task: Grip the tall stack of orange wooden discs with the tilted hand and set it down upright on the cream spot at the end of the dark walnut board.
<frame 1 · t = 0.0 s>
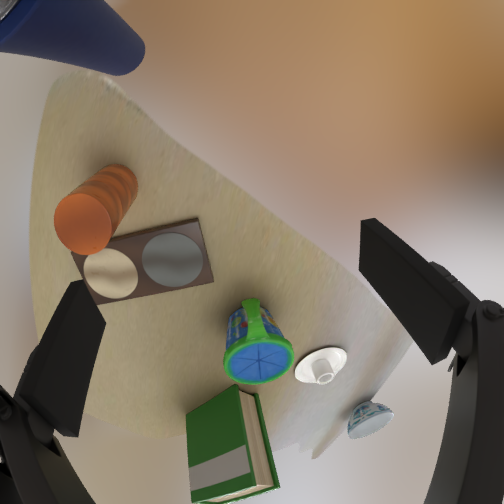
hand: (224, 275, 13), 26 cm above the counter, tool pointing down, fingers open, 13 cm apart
snack cup: (249, 319, 50), on the counter
board: (141, 263, 41), on the counter
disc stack: (115, 187, 35), on the counter
candle holder: (320, 363, 59), on the counter
hardback book: (220, 405, 62), on the counter
chinaware: (362, 406, 76), on the counter
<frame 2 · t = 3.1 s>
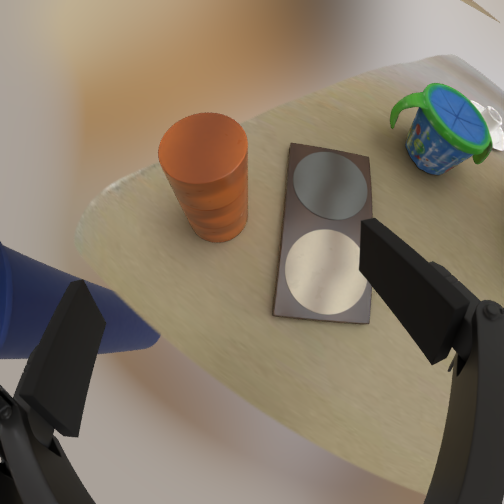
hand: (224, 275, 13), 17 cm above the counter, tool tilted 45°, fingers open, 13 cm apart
snack cup: (424, 155, 35), on the counter
board: (327, 228, 31), on the counter
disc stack: (218, 214, 32), on the counter
candle holder: (483, 126, 38), on the counter
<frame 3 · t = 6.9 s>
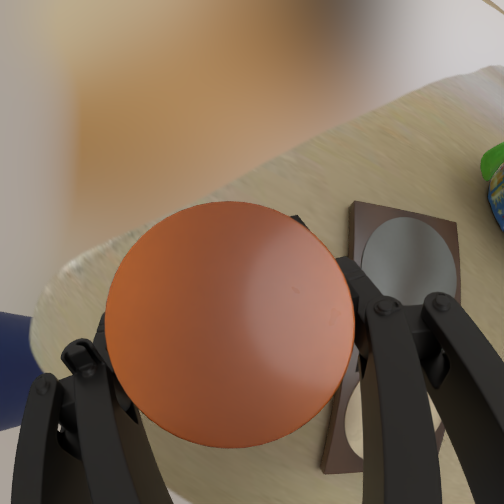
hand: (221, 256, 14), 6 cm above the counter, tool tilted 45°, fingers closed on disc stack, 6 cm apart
board: (402, 342, 19), on the counter
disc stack: (240, 329, 19), on the counter, touching gripper
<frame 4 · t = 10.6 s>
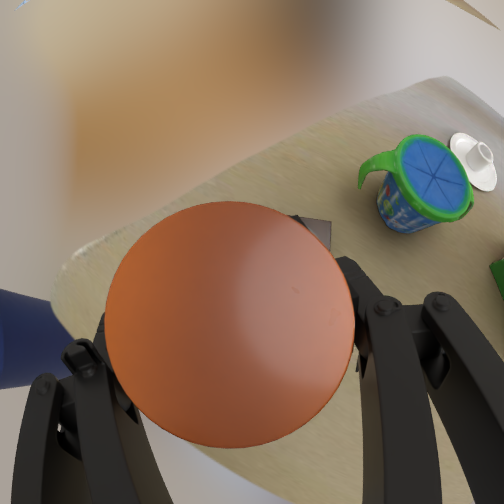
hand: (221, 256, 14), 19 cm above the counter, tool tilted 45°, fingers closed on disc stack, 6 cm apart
snack cup: (398, 209, 36), on the counter
board: (279, 302, 32), on the counter
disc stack: (240, 329, 19), point 13 cm above the counter, touching gripper
candle holder: (472, 163, 39), on the counter
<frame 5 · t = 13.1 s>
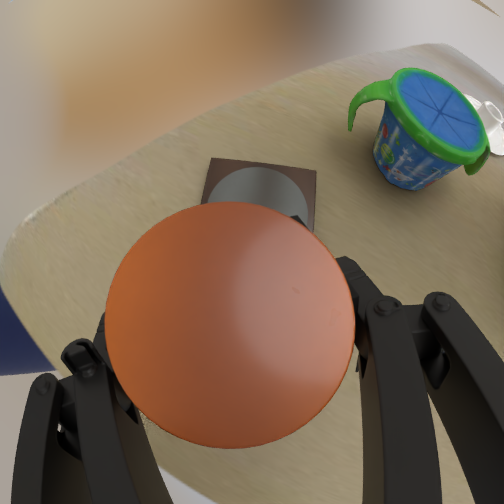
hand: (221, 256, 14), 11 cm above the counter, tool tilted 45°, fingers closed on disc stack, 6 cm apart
snack cup: (399, 164, 28), on the counter
board: (249, 270, 25), on the counter
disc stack: (240, 329, 19), point 5 cm above the counter, touching gripper
candle holder: (480, 125, 31), on the counter
when the fingers open (7 cm above the counter, at t = 14.4 s): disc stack stays where it is, resting on board.
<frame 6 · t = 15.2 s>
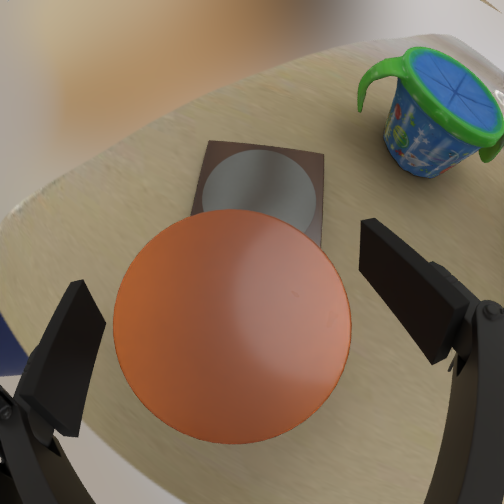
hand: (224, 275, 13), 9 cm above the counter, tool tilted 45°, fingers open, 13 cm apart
snack cup: (411, 150, 26), on the counter
board: (250, 263, 22), on the counter
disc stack: (241, 330, 19), point 1 cm above the counter, touching board
candle holder: (489, 116, 29), on the counter
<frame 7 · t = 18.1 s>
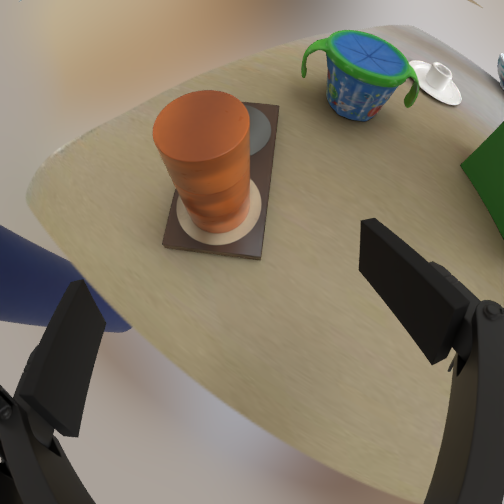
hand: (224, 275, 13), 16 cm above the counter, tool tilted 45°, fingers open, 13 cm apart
snack cup: (350, 105, 36), on the counter
board: (227, 169, 32), on the counter
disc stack: (218, 204, 30), point 1 cm above the counter, touching board
candle holder: (433, 84, 39), on the counter
hardback book: (499, 206, 32), on the counter
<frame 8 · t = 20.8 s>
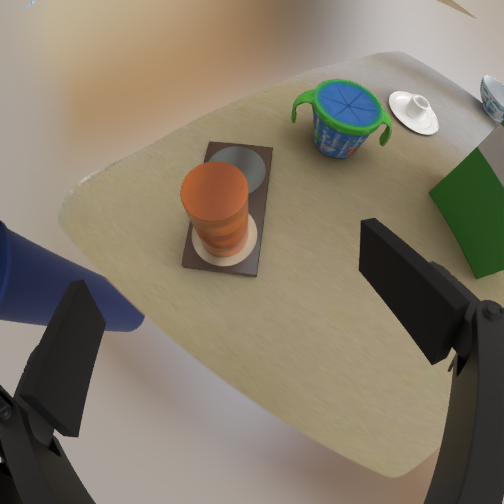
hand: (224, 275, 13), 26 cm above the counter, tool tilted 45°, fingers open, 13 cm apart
snack cup: (333, 142, 45), on the counter
board: (230, 204, 42), on the counter
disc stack: (224, 234, 39), point 1 cm above the counter, touching board
candle holder: (412, 114, 48), on the counter
hardback book: (464, 227, 42), on the counter
chinaware: (490, 111, 51), on the counter
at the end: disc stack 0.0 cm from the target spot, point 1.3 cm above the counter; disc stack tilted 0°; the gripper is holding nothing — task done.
